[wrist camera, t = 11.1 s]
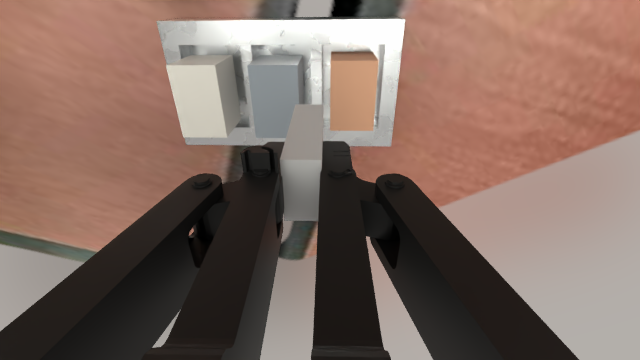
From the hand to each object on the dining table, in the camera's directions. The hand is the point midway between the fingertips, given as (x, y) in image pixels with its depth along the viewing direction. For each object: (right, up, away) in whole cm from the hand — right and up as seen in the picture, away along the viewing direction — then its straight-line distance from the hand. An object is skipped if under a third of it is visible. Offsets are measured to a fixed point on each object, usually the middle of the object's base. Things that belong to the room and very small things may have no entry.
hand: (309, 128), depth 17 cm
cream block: (-10, +6, +14) cm, 18 cm away
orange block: (+4, +7, +15) cm, 17 cm away
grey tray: (-3, +8, +17) cm, 19 cm away
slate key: (-3, +6, +13) cm, 15 cm away
